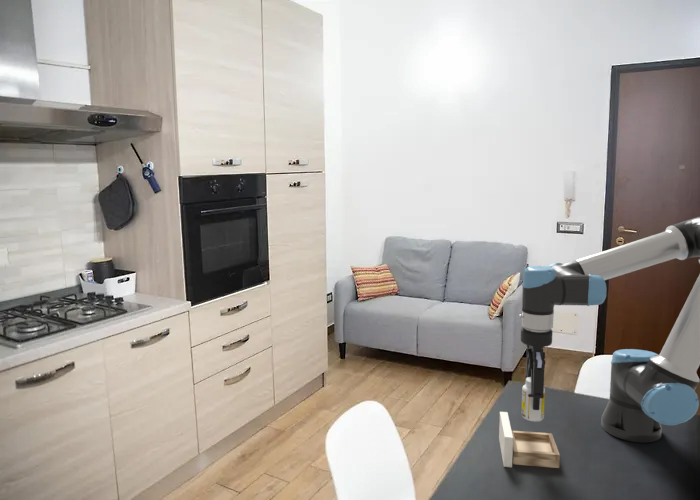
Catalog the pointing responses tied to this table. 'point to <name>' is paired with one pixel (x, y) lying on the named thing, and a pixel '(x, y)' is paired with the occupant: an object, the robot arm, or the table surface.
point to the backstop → (505, 439)
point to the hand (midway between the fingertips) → (532, 414)
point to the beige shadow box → (535, 449)
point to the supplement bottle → (526, 400)
